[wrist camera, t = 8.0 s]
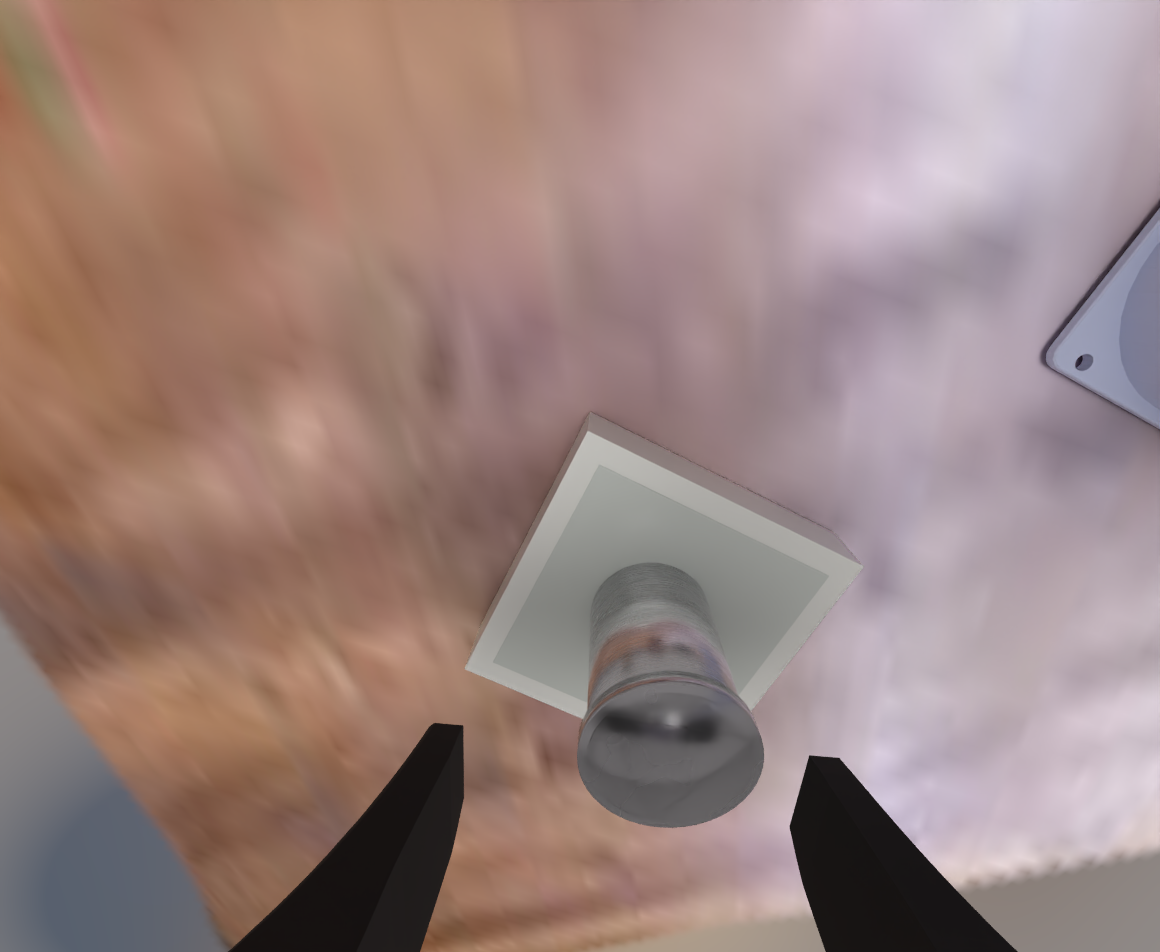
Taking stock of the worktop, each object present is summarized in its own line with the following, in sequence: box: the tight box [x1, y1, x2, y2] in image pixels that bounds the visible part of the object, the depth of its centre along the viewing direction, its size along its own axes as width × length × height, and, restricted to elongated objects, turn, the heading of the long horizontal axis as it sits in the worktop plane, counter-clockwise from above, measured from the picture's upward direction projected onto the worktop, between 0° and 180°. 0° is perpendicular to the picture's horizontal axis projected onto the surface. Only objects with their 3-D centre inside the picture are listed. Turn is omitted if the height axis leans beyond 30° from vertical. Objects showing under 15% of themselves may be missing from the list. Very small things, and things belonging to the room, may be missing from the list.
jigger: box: [577, 563, 764, 828], centre depth 16 cm, size 4×4×6 cm
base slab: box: [465, 412, 864, 719], centre depth 20 cm, size 10×10×3 cm
